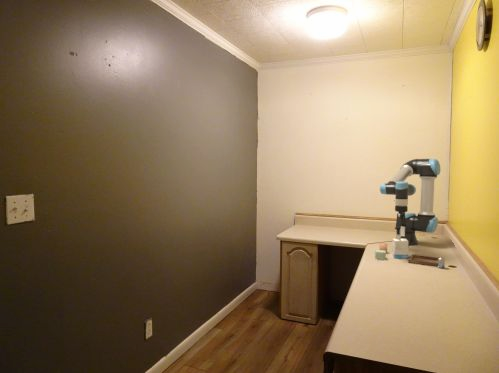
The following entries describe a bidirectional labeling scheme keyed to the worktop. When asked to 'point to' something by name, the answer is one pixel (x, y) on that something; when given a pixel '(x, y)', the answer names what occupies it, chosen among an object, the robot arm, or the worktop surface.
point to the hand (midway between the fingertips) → (400, 237)
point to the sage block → (380, 254)
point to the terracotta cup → (383, 247)
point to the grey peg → (441, 262)
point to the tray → (423, 260)
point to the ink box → (400, 248)
